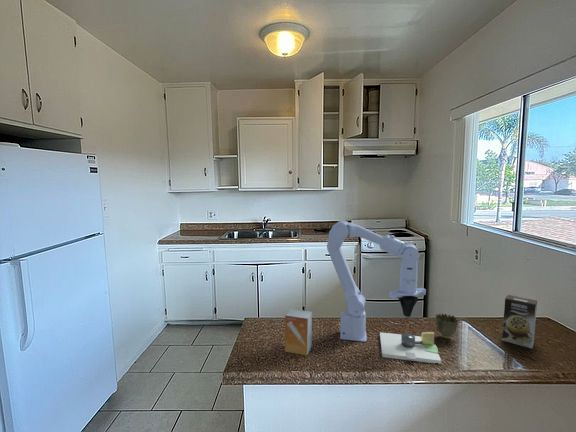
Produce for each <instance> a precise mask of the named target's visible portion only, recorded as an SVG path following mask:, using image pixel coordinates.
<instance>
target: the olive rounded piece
mask: <svg viewBox="0 0 576 432" xmlns="http://www.w3.org/2000/svg"><path fill="white" fill-rule="evenodd" d="M458 321H459V319H457V317H456V316H455V315H450V314H447V313H445V314H444V313H442V314H441V313H439V314H437V313H436V315H435V323H436V329H437V331H438V332H439V333H440V335H439V336H440V337H441V338H442V339H444V340H450V339H452V336H453V335H454V334H455V333H456V331H457V327H458Z"/></svg>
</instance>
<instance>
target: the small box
mask: <svg viewBox="0 0 576 432" xmlns="http://www.w3.org/2000/svg"><path fill="white" fill-rule="evenodd" d="M284 318H285V319H284V352H285V353H292V354H296V355H297V354H298V355H303V356H308V355H309V353H310V350H311V348H312V344H313V342H312V340H313V339H312V337H313V336H312V334H313V333H312V332H313V331H312V330H313V328H312V327H313V311H308V310H303V309H302V310H301V309H293V308H290V309H289V310H288V311H287V312H286V314H285V317H284Z"/></svg>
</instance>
